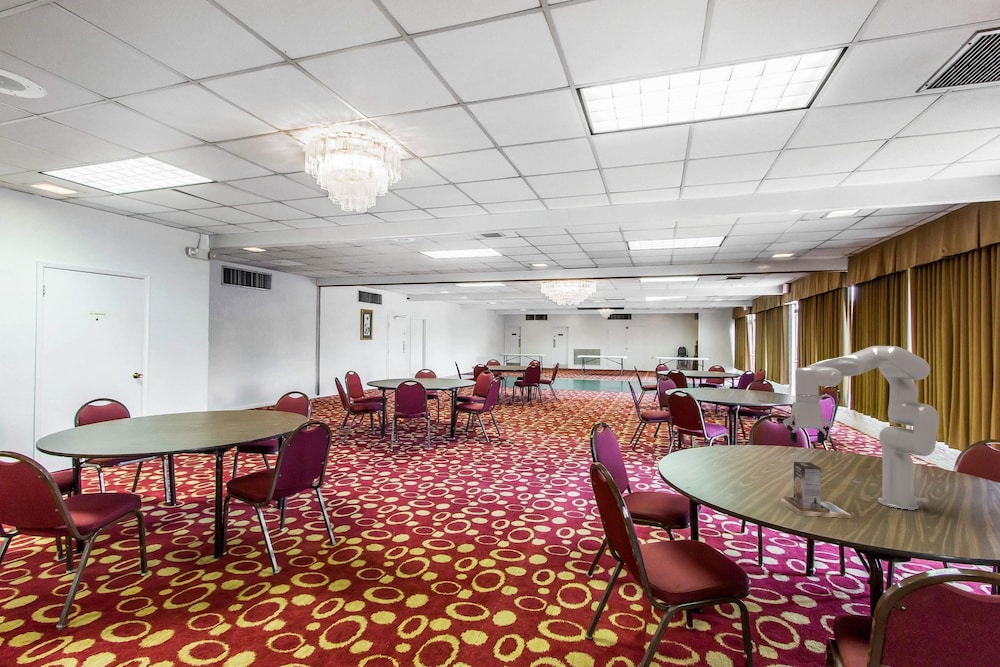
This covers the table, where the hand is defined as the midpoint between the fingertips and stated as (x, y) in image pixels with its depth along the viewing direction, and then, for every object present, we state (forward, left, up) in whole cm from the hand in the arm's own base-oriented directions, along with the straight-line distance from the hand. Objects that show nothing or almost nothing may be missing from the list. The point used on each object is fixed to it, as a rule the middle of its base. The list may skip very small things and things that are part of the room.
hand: (807, 442), depth 178 cm
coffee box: (0, 0, -25) cm, 25 cm away
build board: (-3, 0, -26) cm, 26 cm away
